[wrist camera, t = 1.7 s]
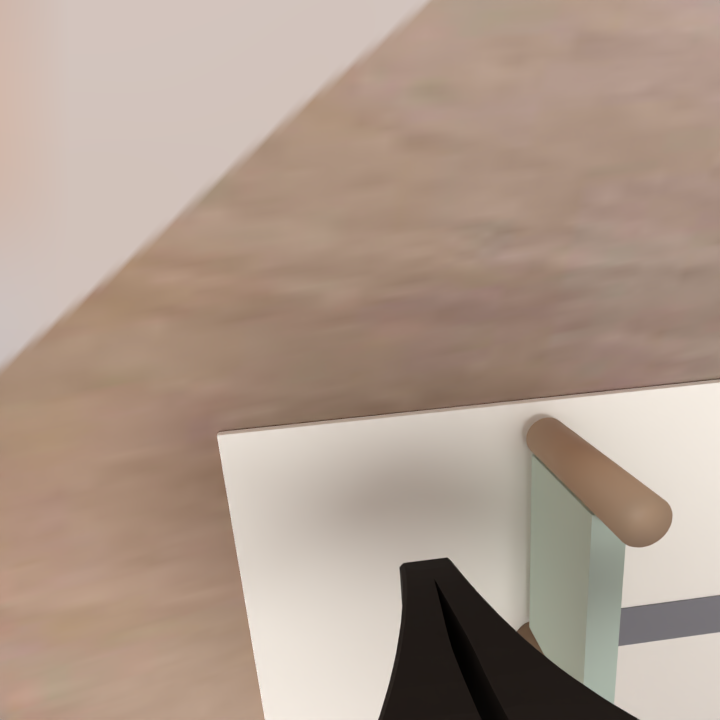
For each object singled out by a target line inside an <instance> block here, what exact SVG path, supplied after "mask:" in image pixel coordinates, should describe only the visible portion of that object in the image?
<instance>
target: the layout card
mask: <svg viewBox="0 0 720 720" xmlns="http://www.w3.org/2000/svg"><path fill="white" fill-rule="evenodd" d="M547 417H550V418H555V419H557V420H559V421H560V422H562V423H563V424H564V425H566V426H567V427H568V428H570V429H571V430H572V431H574V432H575V433H576V434H578V435H579V436H580V437H582V438H583V439H584V440H586V441H587V442H588V443H590V444H591V445H592V446H594V447H595V448H596V449H598V450H599V451H600V452H602V453H603V454H604V455H606V456H607V457H608V458H610V459H611V460H612V461H614V462H615V463H616V464H618V465H619V466H620V467H622V468H623V469H624V470H626V471H627V472H628V473H630V474H631V475H632V476H634V477H635V478H636V479H638V480H639V481H640V482H642V483H643V484H644V485H646V486H647V487H648V488H650V489H651V490H652V491H654V492H655V493H656V494H658V495H659V496H660V497H661V498H663V499H664V500H665V501H667V502H668V504H669V505H670V507H671V509H672V515H673V516H672V523H671V526H670V528H669V530H668V532H667V533H666V534H665V535H664V536H663V537H662V538H661V539H660V540H659V541H657V542H656V543H654V544H652V545H650V546H646V547H640V548H637V547H631V546H628V545H626V547H625V561H624V575H623V588H622V602H621V616H620V629H619V643H618V657H617V671H616V684H615V698H614V705H616V706H617V707H619V708H621V709H622V710H624V711H626V712H628V713H629V714H631V715H633V716H634V717H636V718H638V719H639V720H720V379H718V380H708V381H699V382H689V383H680V384H670V385H661V386H651V387H642V388H632V389H623V390H613V391H604V392H594V393H585V394H575V395H566V396H556V397H546V398H537V399H527V400H518V401H508V402H499V403H489V404H480V405H470V406H461V407H451V408H442V409H432V410H423V411H413V412H404V413H394V414H385V415H375V416H366V417H356V418H347V419H337V420H328V421H318V422H309V423H299V424H290V425H280V426H271V427H261V428H252V429H242V430H233V431H223V432H219V433H218V435H217V439H218V444H219V450H220V456H221V462H222V468H223V474H224V480H225V486H226V492H227V498H228V504H229V510H230V515H231V521H232V527H233V533H234V539H235V545H236V551H237V557H238V563H239V569H240V575H241V581H242V587H243V592H244V598H245V604H246V610H247V616H248V622H249V628H250V634H251V640H252V646H253V652H254V658H255V663H256V669H257V675H258V681H259V687H260V693H261V699H262V705H263V711H264V717H265V720H378V719H379V716H380V713H381V709H382V706H383V703H384V699H385V696H386V692H387V689H388V685H389V681H390V677H391V673H392V669H393V665H394V660H395V655H396V650H397V644H398V638H399V632H400V625H401V614H402V598H401V583H400V569H399V567H400V566H401V565H402V564H403V563H407V562H414V561H422V560H430V559H438V558H446V557H447V558H449V559H450V560H451V561H452V562H453V563H454V565H455V566H456V567H457V568H458V570H459V571H460V572H461V573H462V575H463V576H464V577H465V578H466V579H467V580H468V582H469V583H470V584H471V585H472V586H473V587H474V588H475V590H476V591H477V592H478V593H479V594H480V595H481V596H482V597H483V598H484V599H485V600H486V601H487V602H488V604H489V605H490V606H491V607H492V608H493V609H494V610H495V611H496V612H497V613H498V614H499V615H500V616H501V617H502V618H503V619H504V620H505V621H506V622H507V623H508V624H509V625H510V626H511V627H513V628H514V629H515V630H516V631H517V630H518V629H519V628H520V627H521V626H522V625H524V624H525V623H527V622H529V611H530V540H531V468H532V454H534V453H533V452H532V451H531V450H530V449H529V448H528V446H527V442H526V436H527V432H528V430H529V428H530V427H531V426H532V425H533V424H534V423H535V422H536V421H538V420H540V419H542V418H547Z"/></svg>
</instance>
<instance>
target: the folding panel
mask: <svg viewBox="0 0 720 720" xmlns="http://www.w3.org/2000/svg"><path fill="white" fill-rule="evenodd" d="M526 442H527V446H528V448H529V449H530V450H531V451H532V452H533V453H534V454H532V468H531V540H530V611H529V627H530V629H531V631H532V633H533V635H534V637H535V639H536V640H537V642H538V644H539V646H540V648H541V650H542V652H543V653H544V655H545V656H546V657H547V658H548V659H549V660H551V661H552V662H553V663H554V664H556V665H557V666H558V667H560V668H561V669H562V670H564V671H565V672H566V673H568V674H569V675H570V676H572V677H573V678H575V679H576V680H578V681H579V682H581V683H582V684H584V685H585V686H587V687H588V688H589V689H591V690H592V691H594V692H595V693H597V694H598V695H600V696H601V697H603V698H604V699H606V700H608V701H609V702H611V703H612V704H614V698H615V684H616V671H617V657H618V643H619V629H620V616H621V602H622V588H623V575H624V561H625V547H626V545H628V546H631V547H637V548H640V547H646V546H650V545H652V544H654V543H656V542H657V541H659V540H660V539H661V538H662V537H663V536H664V535H665V534H666V533H667V532H668V530H669V528H670V526H671V523H672V516H673V515H672V509H671V507H670V505H669V504H668V502H667V501H665V500H664V499H663V498H661V497H660V496H659V495H658V494H656V493H655V492H654V491H652V490H651V489H650V488H648V487H647V486H646V485H644V484H643V483H642V482H640V481H639V480H638V479H636V478H635V477H634V476H632V475H631V474H630V473H628V472H627V471H626V470H624V469H623V468H622V467H620V466H619V465H618V464H616V463H615V462H614V461H612V460H611V459H610V458H608V457H607V456H606V455H604V454H603V453H602V452H600V451H599V450H598V449H596V448H595V447H594V446H592V445H591V444H590V443H588V442H587V441H586V440H584V439H583V438H582V437H580V436H579V435H578V434H576V433H575V432H574V431H572V430H571V429H570V428H568V427H567V426H566V425H564V424H563V423H562V422H560V421H559V420H557V419H555V418H550V417H547V418H542V419H540V420H538V421H536V422H535V423H534V424H533V425H532V426H531V427H530V428H529V430H528V432H527V436H526Z"/></svg>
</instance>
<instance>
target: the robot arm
mask: <svg viewBox="0 0 720 720" xmlns="http://www.w3.org/2000/svg"><path fill="white" fill-rule="evenodd" d="M399 569H400V583H401V598H402V614H401V625H400V632H399V638H398V644H397V650H396V655H395V660H394V665H393V669H392V673H391V677H390V681H389V685H388V689H387V692H386V696H385V699H384V703H383V706H382V709H381V713H380V716H379V719H378V720H639V719H638V718H636V717H634V716H633V715H631V714H629V713H628V712H626V711H624V710H622V709H621V708H619V707H617V706H616V705H614V704H612V703H611V702H609V701H608V700H606V699H604V698H603V697H601V696H600V695H598V694H597V693H595V692H594V691H592V690H591V689H589V688H588V687H587V686H585V685H584V684H582V683H581V682H579V681H578V680H576V679H575V678H573V677H572V676H570V675H569V674H568V673H566V672H565V671H564V670H562V669H561V668H560V667H558V666H557V665H556V664H554V663H553V662H552V661H551V660H549V659H548V658H547V657H546V656H544V655H543V654H542V653H541V652H539V651H538V650H537V649H536V648H535V647H534V646H532V645H531V644H530V643H529V642H528V641H527V640H526V639H524V638H523V637H522V636H521V635H520V634H519V633H518V632H517V631H516V630H515V629H514V628H513V627H511V626H510V625H509V624H508V623H507V622H506V621H505V620H504V619H503V618H502V617H501V616H500V615H499V614H498V613H497V612H496V611H495V610H494V609H493V608H492V607H491V606H490V605H489V604H488V602H487V601H486V600H485V599H484V598H483V597H482V596H481V595H480V594H479V593H478V592H477V591H476V590H475V588H474V587H473V586H472V585H471V584H470V583H469V582H468V580H467V579H466V578H465V577H464V576H463V575H462V573H461V572H460V571H459V570H458V568H457V567H456V566H455V565H454V563H453V562H452V561H451V560H450V559H449V558H447V557H446V558H438V559H430V560H422V561H414V562H407V563H403V564H402V565H401V566H400V567H399Z"/></svg>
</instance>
